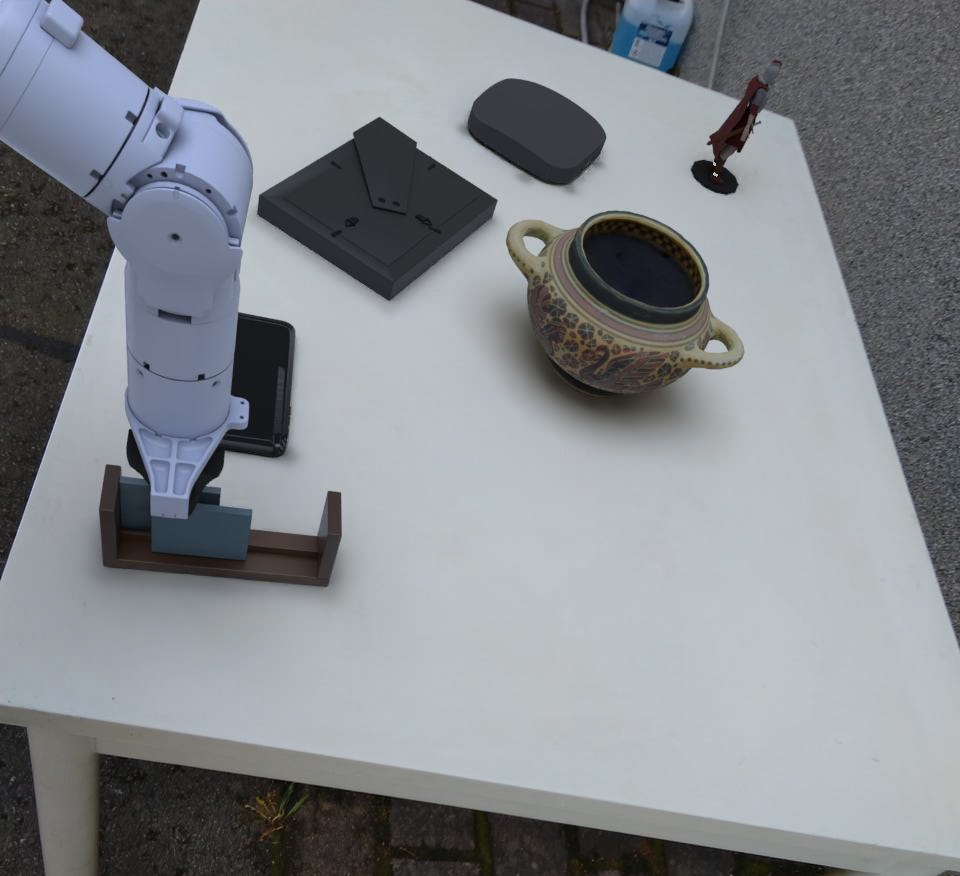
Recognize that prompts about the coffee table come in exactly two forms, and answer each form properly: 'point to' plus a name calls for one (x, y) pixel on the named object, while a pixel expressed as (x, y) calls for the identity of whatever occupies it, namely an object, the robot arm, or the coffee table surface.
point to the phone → (262, 384)
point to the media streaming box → (537, 129)
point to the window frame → (265, 560)
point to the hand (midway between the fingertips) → (176, 499)
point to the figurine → (735, 133)
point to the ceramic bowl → (620, 303)
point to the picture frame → (378, 208)
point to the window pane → (204, 532)
